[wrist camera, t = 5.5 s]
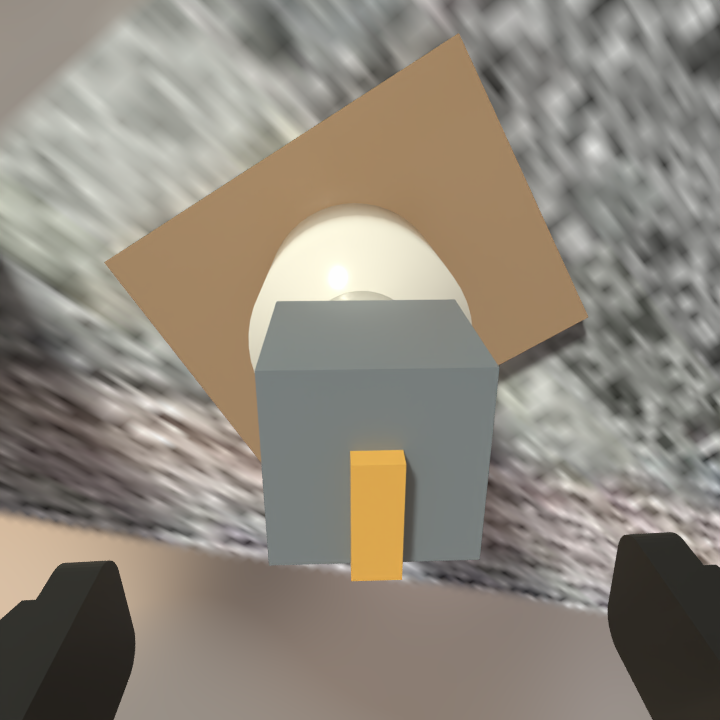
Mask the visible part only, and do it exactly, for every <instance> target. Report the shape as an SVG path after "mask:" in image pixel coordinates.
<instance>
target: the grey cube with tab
mask: <svg viewBox="0 0 720 720" xmlns="http://www.w3.org/2000/svg"><path fill="white" fill-rule="evenodd" d="M498 376H499V366H498V364H497V363H496V361H495V360H494V358H493V357H492V355H491V354H490V352H489V351H488V349H487V348H486V346H485V345H484V343H483V342H482V340H481V339H480V337H479V335H478V334H477V332H476V331H475V329H474V328H473V326H472V325H471V323H470V322H469V320H468V319H467V317H466V316H465V314H464V313H463V311H462V310H461V308H460V306H459V305H458V303H457V302H456V300H455V299H448V300H347V301H276V304H275V307H274V311H273V314H272V317H271V320H270V323H269V326H268V330H267V333H266V336H265V339H264V342H263V346H262V349H261V352H260V355H259V358H258V362H257V365H256V368H255V383H256V397H257V410H258V424H259V437H260V451H261V464H262V478H263V491H264V505H265V518H266V532H267V545H268V559H269V565H300V564H337V563H351V581H372V580H402V564H403V562H412V561H449V560H480V551H481V542H482V532H483V522H484V513H485V503H486V493H487V483H488V474H489V464H490V454H491V444H492V435H493V425H494V415H495V406H496V396H497V386H498Z"/></svg>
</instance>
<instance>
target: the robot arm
mask: <svg viewBox="0 0 720 720" xmlns="http://www.w3.org/2000/svg"><path fill="white" fill-rule="evenodd" d="M608 622H609V628H610V632H611V636H612V639H613V642H614V645H615V647H616V649H617V651H618V653H619V655H620V657H621V659H622V661H623V663H624V665H625V667H626V669H627V671H628V673H629V675H630V676H631V679H632V681H633V682H634V684H635V686H636V688H637V690H638V692H639V694H640V696H641V698H642V700H643V702H644V704H645V706H646V708H647V710H648V711H649V714H650V715H651V717H652V719H653V720H720V567H718V566H717V565H703V564H702V563H701V561H700V560H699V559H698V558H697V556H696V555H695V554H694V553H693V551H692V550H691V549H690V548H689V546H688V545H687V544H686V543H685V542H684V540H683V539H682V538H681V537H680V536H679V535H677V534H675V533H672V532H667V533H648V534H629V535H624V536H622V538H621V539H620V541H619V545H618V550H617V556H616V561H615V567H614V573H613V579H612V585H611V591H610V596H609V602H608ZM134 655H135V633H134V628H133V624H132V620H131V616H130V612H129V609H128V605H127V601H126V597H125V593H124V589H123V585H122V582H121V578H120V574H119V570H118V567H117V565H116V564H115V563H114V562H113V561H94V562H76V563H63V564H61V565H59V566H58V567H57V568H56V569H55V571H54V572H53V573H52V575H51V576H50V578H49V580H48V581H47V583H46V584H45V586H44V588H43V589H42V591H41V593H40V594H39V596H38V597H37V599H36V600H24V601H21V602H20V603H19V604H18V605H17V606H15V607H14V608H13V609H12V610H11V611H10V612H9V613H8V614H6V615H5V616H4V617H3V618H2V619H1V620H0V720H114V717H115V715H116V712H117V709H118V707H119V704H120V701H121V698H122V696H123V693H124V690H125V688H126V685H127V682H128V679H129V677H130V674H131V671H132V667H133V661H134Z"/></svg>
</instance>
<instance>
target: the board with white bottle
mask: <svg viewBox="0 0 720 720" xmlns="http://www.w3.org/2000/svg"><path fill="white" fill-rule="evenodd" d="M104 263H105V264H106V265H107V266H108V268H109V269H110V270H111V272H112V273H113V274H114V275H115V277H116V278H117V279H118V281H119V282H120V283H121V284H122V286H123V287H124V288H125V289H126V291H127V292H128V293H129V295H130V296H131V297H132V298H133V300H134V301H135V302H136V303H137V305H138V306H139V307H140V309H141V310H142V311H143V312H144V314H145V315H146V316H147V318H148V319H149V320H150V321H151V323H152V324H153V325H154V326H155V328H156V329H157V330H158V332H159V333H160V334H161V335H162V337H163V338H164V339H165V340H166V342H167V343H168V344H169V346H170V347H171V348H172V349H173V351H174V352H175V353H176V355H177V356H178V357H179V358H180V360H181V361H182V362H183V363H184V365H185V366H186V367H187V369H188V370H189V371H190V372H191V374H192V375H193V376H194V377H195V379H196V380H197V381H198V383H199V384H200V385H201V386H202V388H203V389H204V390H205V392H206V393H207V394H208V395H209V397H210V398H211V399H212V400H213V402H214V403H215V404H216V406H217V407H218V408H219V409H220V411H221V412H222V413H223V415H224V416H225V417H226V418H227V420H228V421H229V422H230V423H231V425H232V426H233V427H234V429H235V430H236V431H237V432H238V434H239V435H240V436H241V437H242V439H243V440H244V441H245V443H246V444H247V445H248V446H249V448H250V449H251V450H252V452H253V453H254V454H255V455H256V457H257V458H258V459H259V460H260V462H261V451H260V437H259V424H258V410H257V397H256V383H255V368H256V365H257V362H258V358H259V355H260V352H261V349H262V346H263V342H264V339H265V336H266V333H267V330H268V326H269V323H270V320H271V317H272V314H273V311H274V307H275V304H276V301H347V300H448V299H455V300H456V302H457V303H458V305H459V306H460V308H461V310H462V311H463V313H464V314H465V316H466V317H467V319H468V320H469V322H470V323H471V325H472V326H473V328H474V329H475V331H476V332H477V334H478V335H479V337H480V339H481V340H482V342H483V343H484V345H485V346H486V348H487V349H488V351H489V352H490V354H491V355H492V357H493V358H494V360H495V361H496V363H497V364H498V365H500V364H502V363H504V362H505V361H507V360H509V359H511V358H513V357H515V356H517V355H519V354H520V353H522V352H524V351H526V350H528V349H530V348H532V347H534V346H535V345H537V344H539V343H541V342H543V341H545V340H547V339H548V338H550V337H552V336H554V335H556V334H558V333H560V332H562V331H563V330H565V329H567V328H569V327H571V326H573V325H575V324H577V323H578V322H580V321H582V320H584V319H586V318H588V315H587V313H586V311H585V309H584V306H583V304H582V302H581V300H580V298H579V296H578V293H577V291H576V289H575V287H574V285H573V282H572V280H571V278H570V276H569V274H568V271H567V269H566V267H565V265H564V263H563V260H562V258H561V256H560V254H559V252H558V249H557V247H556V245H555V243H554V241H553V239H552V236H551V234H550V232H549V230H548V228H547V225H546V223H545V221H544V219H543V217H542V214H541V212H540V210H539V208H538V206H537V203H536V201H535V199H534V197H533V195H532V192H531V190H530V188H529V186H528V184H527V182H526V179H525V177H524V175H523V173H522V171H521V168H520V166H519V164H518V162H517V160H516V157H515V155H514V153H513V151H512V149H511V146H510V144H509V142H508V140H507V138H506V135H505V133H504V131H503V129H502V127H501V124H500V122H499V120H498V118H497V116H496V114H495V111H494V109H493V107H492V105H491V103H490V100H489V98H488V96H487V94H486V92H485V89H484V87H483V85H482V83H481V81H480V78H479V76H478V74H477V72H476V70H475V67H474V65H473V63H472V61H471V59H470V57H469V54H468V52H467V50H466V48H465V46H464V43H463V41H462V39H461V37H460V35H459V33H458V34H457V35H455V36H454V37H452V38H450V39H449V40H447V41H446V42H444V43H443V44H441V45H440V46H438V47H437V48H435V49H433V50H432V51H430V52H429V53H427V54H426V55H424V56H423V57H421V58H420V59H418V60H416V61H415V62H413V63H412V64H410V65H409V66H407V67H406V68H404V69H403V70H401V71H399V72H398V73H396V74H395V75H393V76H392V77H390V78H389V79H387V80H386V81H384V82H382V83H381V84H379V85H378V86H376V87H375V88H373V89H372V90H370V91H369V92H367V93H365V94H364V95H362V96H361V97H359V98H358V99H356V100H355V101H353V102H352V103H350V104H348V105H347V106H345V107H344V108H342V109H341V110H339V111H338V112H336V113H335V114H333V115H331V116H330V117H328V118H327V119H325V120H324V121H322V122H321V123H319V124H318V125H316V126H314V127H313V128H311V129H310V130H308V131H307V132H305V133H304V134H302V135H301V136H299V137H297V138H296V139H294V140H293V141H291V142H290V143H288V144H287V145H285V146H284V147H282V148H280V149H279V150H277V151H276V152H274V153H273V154H271V155H270V156H268V157H267V158H265V159H263V160H262V161H260V162H259V163H257V164H256V165H254V166H253V167H251V168H250V169H248V170H246V171H245V172H243V173H242V174H240V175H239V176H237V177H236V178H234V179H233V180H231V181H229V182H228V183H226V184H225V185H223V186H222V187H220V188H219V189H217V190H216V191H214V192H212V193H211V194H209V195H208V196H206V197H205V198H203V199H202V200H200V201H199V202H197V203H195V204H194V205H192V206H191V207H189V208H188V209H186V210H185V211H183V212H181V213H180V214H178V215H177V216H175V217H174V218H172V219H171V220H169V221H168V222H166V223H164V224H163V225H161V226H160V227H158V228H157V229H155V230H154V231H152V232H151V233H149V234H147V235H146V236H144V237H143V238H141V239H140V240H138V241H137V242H135V243H134V244H132V245H130V246H129V247H127V248H126V249H124V250H123V251H121V252H120V253H118V254H117V255H115V256H113V257H112V258H110V259H109V260H107V261H106V262H104Z"/></svg>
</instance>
